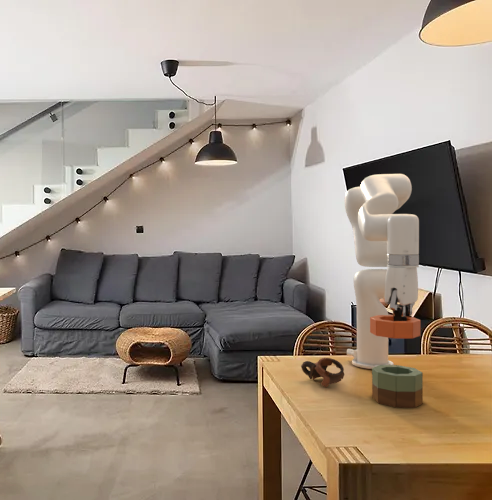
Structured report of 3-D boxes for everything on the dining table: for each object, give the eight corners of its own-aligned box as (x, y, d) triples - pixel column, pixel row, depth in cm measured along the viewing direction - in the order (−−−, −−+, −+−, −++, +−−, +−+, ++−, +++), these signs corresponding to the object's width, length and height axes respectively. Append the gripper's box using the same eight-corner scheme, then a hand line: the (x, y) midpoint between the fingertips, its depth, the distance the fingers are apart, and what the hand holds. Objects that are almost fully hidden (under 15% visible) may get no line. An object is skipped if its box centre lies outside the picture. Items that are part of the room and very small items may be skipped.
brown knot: (340, 380, 160) (347, 360, 155) (337, 402, 152) (345, 381, 148) (299, 367, 163) (306, 347, 159) (295, 388, 156) (301, 368, 151)
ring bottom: (366, 400, 139) (366, 385, 139) (385, 391, 146) (385, 377, 146) (409, 410, 131) (409, 394, 131) (428, 401, 138) (428, 385, 138)
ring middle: (366, 385, 139) (365, 370, 139) (385, 377, 146) (385, 362, 146) (409, 394, 131) (409, 378, 131) (428, 385, 138) (428, 370, 138)
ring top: (363, 334, 139) (363, 318, 139) (383, 328, 146) (383, 313, 146) (407, 340, 131) (407, 324, 130) (426, 333, 138) (426, 318, 138)
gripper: (401, 259, 148) (401, 324, 149) (374, 262, 138) (374, 333, 139) (430, 260, 143) (429, 328, 144) (403, 263, 132) (403, 337, 133)
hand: (402, 330), depth 141 cm, fingers closed on ring top, 2 cm apart
